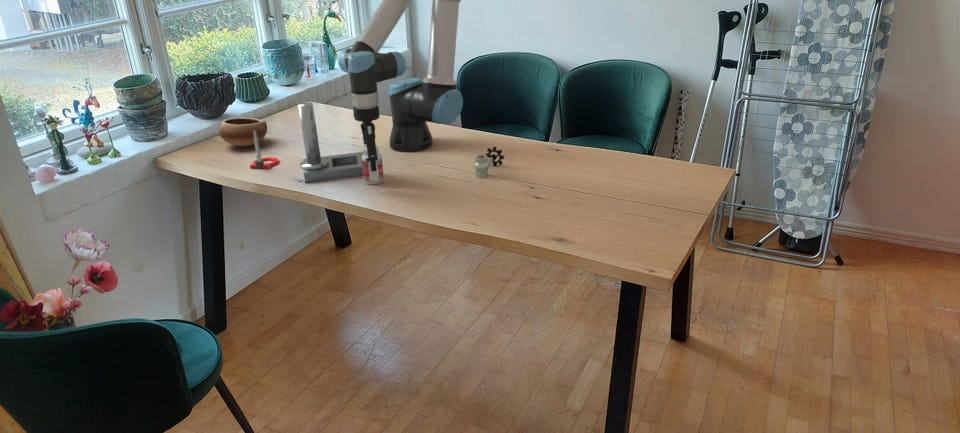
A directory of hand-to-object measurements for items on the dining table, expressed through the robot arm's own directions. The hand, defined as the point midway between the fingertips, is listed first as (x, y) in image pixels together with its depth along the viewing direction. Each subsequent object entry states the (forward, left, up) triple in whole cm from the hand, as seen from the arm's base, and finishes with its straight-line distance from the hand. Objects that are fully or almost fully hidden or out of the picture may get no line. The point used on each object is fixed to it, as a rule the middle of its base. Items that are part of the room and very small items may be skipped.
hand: (372, 173), depth 210 cm
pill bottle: (0, -1, -3) cm, 3 cm away
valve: (-36, +3, -3) cm, 36 cm away
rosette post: (+11, -14, -3) cm, 18 cm away
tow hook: (+34, -29, -3) cm, 44 cm away
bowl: (+42, -52, -3) cm, 66 cm away
